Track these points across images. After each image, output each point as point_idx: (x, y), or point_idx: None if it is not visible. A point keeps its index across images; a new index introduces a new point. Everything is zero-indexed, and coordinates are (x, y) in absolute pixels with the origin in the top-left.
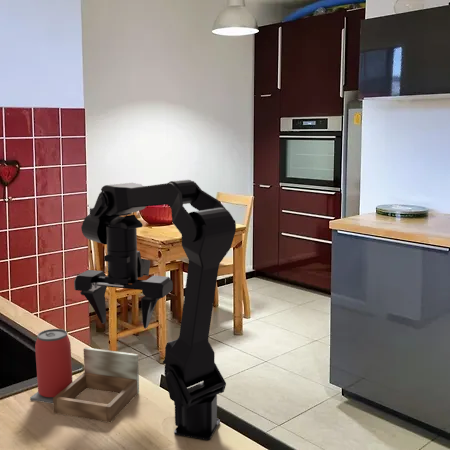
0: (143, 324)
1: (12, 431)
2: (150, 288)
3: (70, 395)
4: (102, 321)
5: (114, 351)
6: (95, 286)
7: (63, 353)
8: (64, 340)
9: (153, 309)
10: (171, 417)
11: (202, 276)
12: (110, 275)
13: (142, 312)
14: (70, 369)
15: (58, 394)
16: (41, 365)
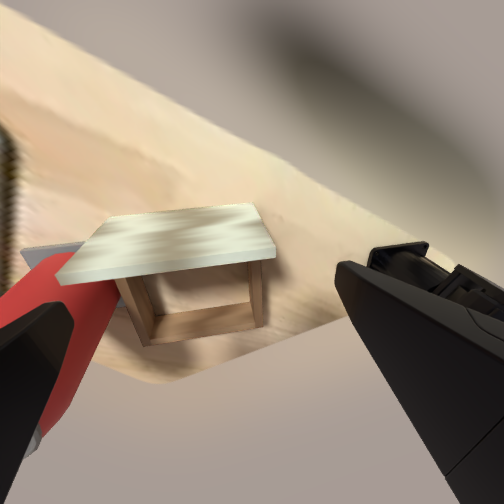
0: (348, 309)
1: (137, 370)
2: None
3: (142, 297)
4: (68, 339)
5: (186, 261)
6: None
7: (80, 379)
8: (48, 412)
9: (480, 316)
10: (345, 257)
11: None
12: None
13: (408, 412)
14: (98, 309)
15: (141, 335)
16: None
